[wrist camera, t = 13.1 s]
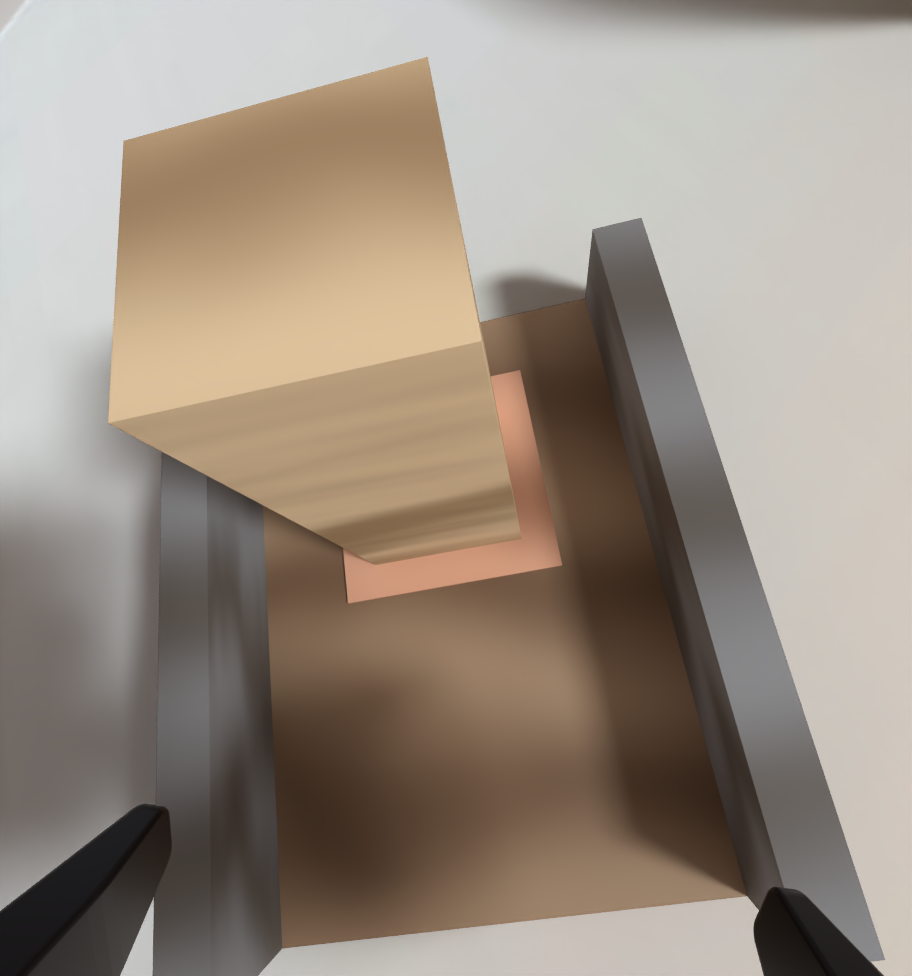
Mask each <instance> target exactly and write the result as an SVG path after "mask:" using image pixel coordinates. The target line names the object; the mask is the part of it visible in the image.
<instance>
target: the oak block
mask: <svg viewBox="0 0 912 976" xmlns="http://www.w3.org/2000/svg"><path fill="white" fill-rule="evenodd" d="M108 423H109V424H111V425H113V426H114V427H116V428H118V429H120V430H122V431H124V432H126V433H128V434H130V435H131V436H133V437H135V438H137V439H139V440H141V441H143V442H145V443H147V444H148V445H150V446H152V447H154V448H156V449H158V450H160V451H162V452H164V453H165V454H167V455H169V456H171V457H173V458H175V459H177V460H179V461H180V462H182V463H184V464H186V465H188V466H190V467H192V468H194V469H196V470H197V471H199V472H201V473H203V474H205V475H207V476H209V477H211V478H213V479H214V480H216V481H218V482H220V483H222V484H224V485H226V486H228V487H230V488H231V489H233V490H235V491H237V492H239V493H241V494H243V495H245V496H246V497H248V498H250V499H252V500H254V501H256V502H258V503H260V504H262V505H263V506H265V507H267V508H269V509H271V510H273V511H275V512H277V513H279V514H280V515H282V516H284V517H286V518H288V519H290V520H292V521H294V522H296V523H297V524H299V525H301V526H303V527H305V528H307V529H309V530H311V531H313V532H314V533H316V534H318V535H320V536H322V537H324V538H326V539H328V540H329V541H331V542H333V543H335V544H337V545H339V546H341V547H343V548H345V549H346V550H348V551H350V552H352V553H354V554H356V555H358V556H360V557H362V558H363V559H365V560H367V561H369V562H371V563H373V564H375V565H379V564H385V563H390V562H396V561H401V560H407V559H412V558H418V557H423V556H429V555H434V554H440V553H446V552H451V551H457V550H462V549H468V548H473V547H479V546H484V545H490V544H495V543H501V542H507V541H512V540H518V539H522V537H521V532H520V527H519V522H518V516H517V511H516V506H515V501H514V496H513V490H512V485H511V480H510V475H509V469H508V464H507V459H506V454H505V449H504V443H503V438H502V433H501V428H500V422H499V417H498V412H497V407H496V402H495V397H494V391H493V386H492V381H491V376H490V371H489V366H488V361H487V356H486V351H485V346H484V341H483V336H482V331H481V326H480V321H479V315H478V310H477V305H476V300H475V295H474V290H473V285H472V280H471V275H470V270H469V265H468V260H467V255H466V250H465V245H464V239H463V234H462V229H461V224H460V219H459V214H458V209H457V204H456V199H455V194H454V189H453V184H452V179H451V174H450V168H449V163H448V158H447V153H446V148H445V143H444V138H443V133H442V128H441V123H440V118H439V113H438V108H437V103H436V98H435V92H434V87H433V82H432V77H431V72H430V67H429V62H428V57H426V58H422V59H418V60H415V61H411V62H408V63H404V64H400V65H397V66H393V67H390V68H386V69H382V70H379V71H375V72H371V73H368V74H364V75H361V76H357V77H353V78H350V79H346V80H343V81H339V82H335V83H332V84H328V85H324V86H321V87H317V88H314V89H310V90H306V91H303V92H299V93H296V94H292V95H288V96H285V97H281V98H277V99H274V100H270V101H267V102H263V103H259V104H256V105H252V106H249V107H245V108H241V109H238V110H234V111H230V112H227V113H223V114H220V115H216V116H212V117H209V118H205V119H202V120H198V121H194V122H191V123H187V124H183V125H180V126H176V127H173V128H169V129H165V130H162V131H158V132H155V133H151V134H147V135H144V136H140V137H136V138H133V139H129V140H126V141H124V145H123V163H122V180H121V198H120V216H119V234H118V252H117V270H116V288H115V306H114V324H113V342H112V360H111V378H110V396H109V414H108Z"/></svg>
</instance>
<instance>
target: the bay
mask: <svg viewBox="0 0 912 976" xmlns="http://www.w3.org/2000/svg"><path fill="white" fill-rule="evenodd" d="M480 326H481V331H482V336H483V341H484V346H485V351H486V356H487V361H488V366H489V371H490V376H491V381H492V386H493V391H494V397H495V402H496V407H497V412H498V417H499V422H500V428H501V433H502V438H503V443H504V449H505V454H506V459H507V464H508V469H509V475H510V480H511V485H512V490H513V496H514V501H515V506H516V511H517V516H518V522H519V527H520V532H521V537H522V539H518V540H512V541H507V542H501V543H495V544H490V545H484V546H479V547H473V548H468V549H462V550H457V551H451V552H446V553H440V554H434V555H429V556H423V557H418V558H412V559H407V560H401V561H396V562H390V563H385V564H379V565H375V564H373V563H371V562H369V561H367V560H365V559H363V558H362V557H360V556H358V555H356V554H354V553H352V552H350V551H348V550H346V549H345V548H343V547H341V546H339V545H337V544H335V543H333V542H331V541H329V540H328V539H326V538H324V537H322V536H320V535H318V534H316V533H314V532H313V531H311V530H309V529H307V528H305V527H303V526H301V525H299V524H297V523H296V522H294V521H292V520H290V519H288V518H286V517H284V516H282V515H280V514H279V513H277V512H275V511H273V510H271V509H269V508H267V507H265V506H263V505H262V504H260V503H258V502H256V501H254V500H252V499H250V498H248V497H246V496H245V495H243V494H241V493H239V492H237V491H235V490H233V489H231V488H230V487H228V486H226V485H224V484H222V483H220V482H218V481H216V480H214V479H213V478H211V477H209V476H207V475H205V474H203V473H201V472H199V471H197V470H196V469H194V468H192V467H190V466H188V465H186V464H184V463H182V462H180V461H179V460H177V459H175V458H173V457H171V456H169V455H167V454H165V453H164V452H162V471H161V528H160V586H159V643H158V701H157V758H156V805H157V806H164V807H166V808H167V809H168V811H169V815H170V826H171V838H172V850H171V855H170V859H169V862H168V864H167V867H166V869H165V872H164V874H163V876H162V879H161V881H160V883H159V886H158V888H157V890H156V893H155V895H154V930H153V976H258V975H259V974H260V973H261V972H262V970H263V969H264V968H265V967H266V966H267V965H268V964H269V963H270V961H271V960H272V959H273V958H274V957H275V956H276V955H277V954H278V953H279V951H280V950H281V949H282V948H290V947H298V946H307V945H316V944H325V943H334V942H343V941H352V940H361V939H370V938H378V937H387V936H396V935H405V934H414V933H423V932H432V931H441V930H450V929H458V928H467V927H476V926H485V925H494V924H503V923H512V922H521V921H530V920H538V919H547V918H556V917H565V916H574V915H583V914H592V913H601V912H610V911H618V910H627V909H636V908H645V907H654V906H663V905H672V904H681V903H690V902H698V901H707V900H716V899H725V898H734V897H743V896H748V898H749V899H750V900H751V901H752V902H753V904H754V905H755V906H756V907H757V908H758V910H760V907H761V905H762V903H763V901H764V898H765V896H766V894H767V892H768V890H769V889H770V888H772V887H782V888H790V889H796V890H799V891H801V892H802V893H804V894H805V895H806V896H807V897H808V898H809V899H810V900H811V901H812V902H813V903H814V904H815V905H816V906H817V907H818V908H819V909H820V910H821V911H822V912H823V913H824V914H825V915H826V916H827V917H828V918H829V919H830V920H831V921H832V923H833V924H834V925H835V926H836V927H837V928H838V929H839V930H840V931H841V932H842V933H843V934H844V935H845V936H846V937H847V938H848V939H849V940H850V941H851V942H852V943H853V944H854V945H855V946H856V947H857V948H858V949H859V951H860V952H861V953H862V954H863V955H864V956H865V957H866V958H867V959H868V960H869V961H880V960H885V958H884V955H883V952H882V949H881V946H880V943H879V940H878V937H877V934H876V931H875V928H874V925H873V922H872V919H871V916H870V913H869V910H868V907H867V904H866V901H865V898H864V895H863V891H862V888H861V885H860V882H859V879H858V876H857V873H856V870H855V867H854V864H853V861H852V858H851V855H850V852H849V849H848V846H847V843H846V840H845V837H844V834H843V831H842V827H841V824H840V821H839V818H838V815H837V812H836V809H835V806H834V803H833V800H832V797H831V794H830V791H829V788H828V785H827V782H826V779H825V776H824V773H823V770H822V767H821V764H820V760H819V757H818V754H817V751H816V748H815V745H814V742H813V739H812V736H811V733H810V730H809V727H808V724H807V721H806V718H805V715H804V712H803V709H802V706H801V703H800V700H799V697H798V693H797V690H796V687H795V684H794V681H793V678H792V675H791V672H790V669H789V666H788V663H787V660H786V657H785V654H784V651H783V648H782V645H781V642H780V639H779V636H778V633H777V630H776V626H775V623H774V620H773V617H772V614H771V611H770V608H769V605H768V602H767V599H766V596H765V593H764V590H763V587H762V584H761V581H760V578H759V575H758V572H757V569H756V566H755V562H754V559H753V556H752V553H751V550H750V547H749V544H748V541H747V538H746V535H745V532H744V529H743V526H742V523H741V520H740V517H739V514H738V511H737V508H736V505H735V502H734V499H733V495H732V492H731V489H730V486H729V483H728V480H727V477H726V474H725V471H724V468H723V465H722V462H721V459H720V456H719V453H718V450H717V447H716V444H715V441H714V438H713V435H712V432H711V428H710V425H709V422H708V419H707V416H706V413H705V410H704V407H703V404H702V401H701V398H700V395H699V392H698V389H697V386H696V383H695V380H694V377H693V374H692V371H691V368H690V365H689V361H688V358H687V355H686V352H685V349H684V346H683V343H682V340H681V337H680V334H679V331H678V328H677V325H676V322H675V319H674V316H673V313H672V310H671V307H670V304H669V301H668V297H667V294H666V291H665V288H664V285H663V282H662V279H661V276H660V273H659V270H658V267H657V264H656V261H655V258H654V255H653V252H652V249H651V246H650V243H649V240H648V237H647V234H646V230H645V227H644V224H643V221H642V218H638V219H634V220H630V221H626V222H622V223H618V224H613V225H609V226H605V227H601V228H597V229H593V231H592V240H591V249H590V258H589V267H588V277H587V286H586V295H585V299H581V300H577V301H572V302H568V303H563V304H559V305H555V306H550V307H546V308H541V309H537V310H533V311H528V312H524V313H519V314H515V315H510V316H506V317H502V318H497V319H493V320H488V321H484V322H480Z"/></svg>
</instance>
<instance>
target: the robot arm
mask: <svg viewBox="0 0 912 976" xmlns="http://www.w3.org/2000/svg"><path fill="white" fill-rule="evenodd" d="M171 850H172V838H171V826H170V815H169V811H168V809H167V808H166V807H164V806H157V805H149V804H141V805H139V806H136V807H135V808H133V809H132V810H131V811H129V812H128V813H127V814H125V815H124V816H123V817H121V818H120V819H119V820H118V821H116V822H115V823H114V824H112V825H111V826H110V827H109V828H107V829H106V830H105V831H103V832H102V833H101V834H99V835H98V836H97V837H96V838H94V839H93V840H92V841H90V842H89V843H88V844H86V845H85V846H84V847H83V848H81V849H80V850H79V851H77V852H76V853H75V854H74V855H72V856H71V857H70V858H68V859H67V860H66V861H64V862H63V863H62V864H61V865H59V866H58V867H57V868H55V869H54V870H53V871H51V872H50V873H49V874H48V875H46V876H45V877H44V878H42V879H41V880H40V881H39V882H37V883H36V884H35V885H33V886H32V887H31V888H29V889H28V890H27V891H26V892H24V893H23V894H22V895H20V896H19V897H18V898H17V899H15V900H14V901H13V902H11V903H10V904H9V905H7V906H6V907H5V908H4V909H2V910H1V911H0V976H120V974H121V972H122V970H123V968H124V965H125V963H126V961H127V958H128V956H129V954H130V951H131V949H132V947H133V944H134V942H135V940H136V937H137V935H138V933H139V930H140V928H141V925H142V923H143V921H144V918H145V916H146V914H147V911H148V909H149V907H150V904H151V902H152V900H153V897H154V895H155V893H156V890H157V888H158V886H159V883H160V881H161V879H162V876H163V874H164V872H165V869H166V867H167V864H168V862H169V859H170V855H171ZM754 940H755V944H756V948H757V952H758V955H759V959H760V963H761V967H762V971H763V974H764V976H884V975H883V974H882V973H881V972H880V971H879V970H878V969H877V968H876V967H875V966H874V965H873V964H872V963H871V962H870V961H869V960H868V959H867V958H866V957H865V956H864V955H863V954H862V953H861V952H860V951H859V949H858V948H857V947H856V946H855V945H854V944H853V943H852V942H851V941H850V940H849V939H848V938H847V937H846V936H845V935H844V934H843V933H842V932H841V931H840V930H839V929H838V928H837V927H836V926H835V925H834V924H833V923H832V921H831V920H830V919H829V918H828V917H827V916H826V915H825V914H824V913H823V912H822V911H821V910H820V909H819V908H818V907H817V906H816V905H815V904H814V903H813V902H812V901H811V900H810V899H809V898H808V897H807V896H806V895H805V894H804V893H802V892H801V891H799V890H796V889H790V888H782V887H772V888H770V889H769V890H768V892H767V894H766V896H765V898H764V901H763V903H762V905H761V907H760V910H759V912H758V914H757V917H756V919H755V922H754Z"/></svg>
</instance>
